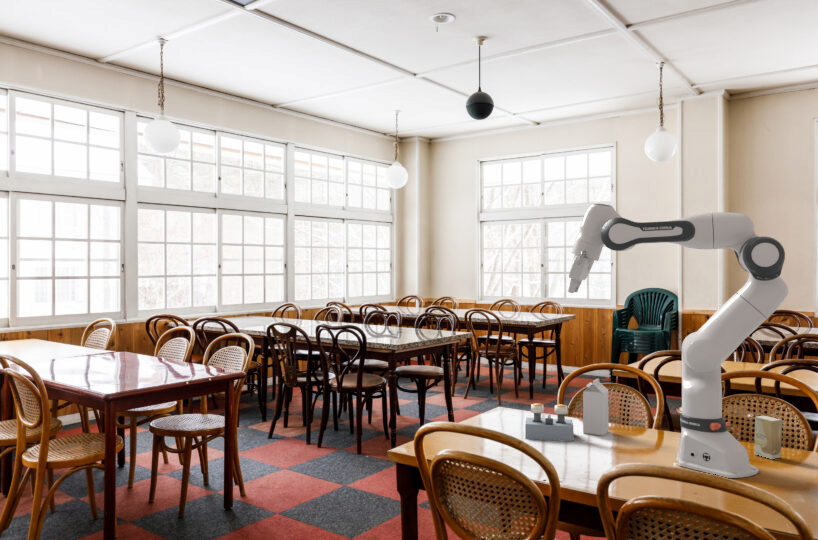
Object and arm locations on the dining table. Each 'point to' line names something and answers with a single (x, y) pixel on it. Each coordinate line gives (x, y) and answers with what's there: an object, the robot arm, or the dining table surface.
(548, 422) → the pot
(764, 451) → the skincare box
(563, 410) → the knob
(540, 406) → the knob
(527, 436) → the mount
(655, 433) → the dining table surface
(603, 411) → the milk carton
